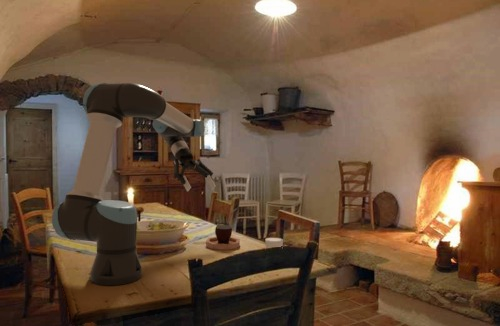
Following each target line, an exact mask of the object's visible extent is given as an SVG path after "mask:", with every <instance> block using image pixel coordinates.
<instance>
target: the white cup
mask: <svg viewBox="0 0 500 326" xmlns="http://www.w3.org/2000/svg"><path fill="white" fill-rule="evenodd" d="M283 244H284V239H283V238H281V237H266V238H265V249H266V248H270V247H281V246H284V245H283Z"/></svg>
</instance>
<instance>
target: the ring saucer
mask: <svg viewBox="0 0 500 326" xmlns="http://www.w3.org/2000/svg"><path fill="white" fill-rule="evenodd" d="M217 243H218V239H217V237H216V236H213V237H207V239H206V240H205V246H206V248H208V249H211V250H217V251H229V250H236V249H238V248H240V247H241V245H240V238H236V237H233V236H231V237H230V239H229V242H228V243H229V244H224V243H222V244H217Z"/></svg>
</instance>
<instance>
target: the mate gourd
mask: <svg viewBox="0 0 500 326" xmlns="http://www.w3.org/2000/svg"><path fill="white" fill-rule="evenodd" d="M237 210H238V207H236V208H235V209H233V210H232V211H231V212H230V215H229V218H228V220H227V221H226V222H218V223H217V224H216V226H215V229H214V233H215V237H217V239H218V243H217V244H222V243H224V244H229V243H228V242H229V239H230V237H232V234H233V227H232V225H231V224H230V221H231V218H232V215H233V214H234V212H235V211H237Z"/></svg>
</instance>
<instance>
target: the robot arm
mask: <svg viewBox="0 0 500 326" xmlns="http://www.w3.org/2000/svg"><path fill="white" fill-rule="evenodd" d="M82 104H83V109H84V112H85V113H86V114H87V115H86V118H87V119H88V121H89V126H88V129H87V134H86V137H85V141H84V145H83V150H82V153H81V156H80V161H79V164H78V165H79V166H78V169H77V171H76V172H77V173H76V176H75V180H74V184H73V187H72V190H71V191H70V192H67V193H66V194H65V199H64V200H63V201H61V202H59V203H58V204H57V205H56V206H55V207H54V208H53V211H52V214H51V226H52V228H53V230H54V233H56V234H57V236H59V237H61V238H64V239H69V240H73V241H84V242H85V241H86V242H95V243H96V253H95V257H94V261H93V263H92V266H91V269H90V273H89V277H90V279H89V280H90V282H91V283H93V284H95V285H98V286H99V285H100V286H102V285H103V286H119V285H126V284H130V283H133V282H136V281H138V280H140V279H141V278H142V275H143V269H142V264H141V262H140V258H139V256H138V252H137V240H138V239H137V238H138V237H137V235H138V234H137V233H138V231H137V230H138V229H137V228H138V225H137V224H138V214H137V207H136V206H135V205H134V204H133V203H130V202H128V201H125V200H113V199H103V197H102V190H103V186H104V183H105V177H106V174H107V170H108V166H109V161H110V157H111V153H112V148H113V144H114V140H115V136H116V131H117V129H118V128H121V126H123V123H124V118H145V119H148V120H151V121H152V128H153V129H154V131H155V132H156V133H157V134H158V135H159V136H160V137H161V138H162V139H163V140H164V141H165V142H166V144H167V145H168V147H169V148H170V150H171V152H172V154H173V156H174V158H175V159H174V161H173V162H172V164H173V178H174V179H176V180H177V181H180V183H181V185H183V187H184V189H185V190H186V192H189V191H190V189H192V186H191V184H190V182H189V181H188V179H187V177H186V175H184V173H185V171H186V170H192V171H194V172H197V173H198V174H200V175H201V176H203V177H204V178H205V181H206V182H207V184H208V186H209V188H210V190H211V191H214V189H215V188H216V187H217V186H216V184H215V181H214V179H213V177H212V176H213V175H214V172H213V171H212V170H211V169H210V168H208V167H207V166H206V165H205V164H204V163H203V162H202V161H201V159H198V158H197V160H195V159H194V155H193V153H192V151H191V150H190V147H189V146H188V144H187V142H186V141H185V140H184V138H183V137H186V138H187V137H188V138H193V137H194V138H197V137H198V138H199V137H200V138H201V137H202V136H204V133H205V130H206V129H205V128H206V126H205V122H204V121H203V120H202V119H196V118H195V119H194V118H192V117H190V116H188V115H186V114H185V113H183V112H182V111H180V110H179V109H177V108H176V107H175V106H173V105H171V104H169V103H168V102H167V101H166V99H165V98H164V96H163V95H161V94H160V93H158V92H157V91H155V90H153V89H151V88H148V87H146V86H144V85H141V84H138V83H134V82H124V83H121V82H119V83H107V82H103V83H96V84H93V85H90V86H89V87H88V88H87V89H86V91H85V93H84V95H83V97H82ZM180 166H181V169H180Z"/></svg>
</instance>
